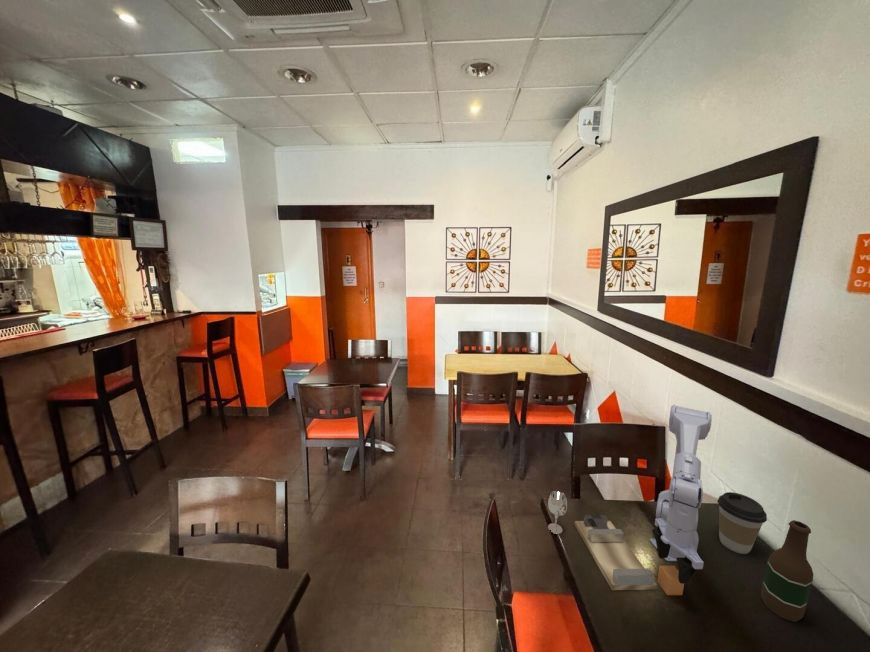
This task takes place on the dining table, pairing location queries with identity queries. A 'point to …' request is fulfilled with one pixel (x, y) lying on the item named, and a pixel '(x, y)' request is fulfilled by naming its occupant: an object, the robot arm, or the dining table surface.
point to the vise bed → (612, 557)
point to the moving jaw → (602, 529)
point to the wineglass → (557, 509)
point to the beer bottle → (789, 575)
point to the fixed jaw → (633, 577)
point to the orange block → (670, 580)
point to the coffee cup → (739, 521)
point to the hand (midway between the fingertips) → (672, 569)
